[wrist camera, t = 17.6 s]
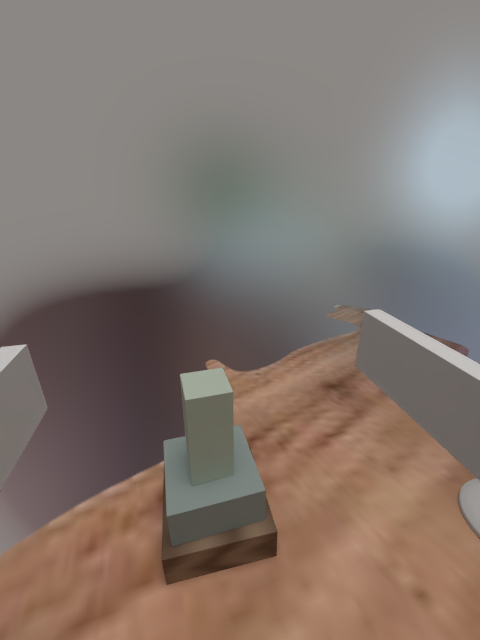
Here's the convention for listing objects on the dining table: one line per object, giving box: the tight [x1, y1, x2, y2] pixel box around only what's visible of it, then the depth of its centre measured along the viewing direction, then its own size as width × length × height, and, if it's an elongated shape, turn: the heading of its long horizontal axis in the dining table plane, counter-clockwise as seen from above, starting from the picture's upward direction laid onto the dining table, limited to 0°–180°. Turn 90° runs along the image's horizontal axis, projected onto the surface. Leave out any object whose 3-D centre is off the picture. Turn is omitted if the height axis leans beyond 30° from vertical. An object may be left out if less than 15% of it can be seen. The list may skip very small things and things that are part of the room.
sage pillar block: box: [180, 368, 234, 485], centre depth 35 cm, size 5×5×12 cm
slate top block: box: [164, 425, 266, 547], centre depth 38 cm, size 11×11×5 cm
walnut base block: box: [162, 447, 277, 585], centre depth 40 cm, size 13×13×5 cm
